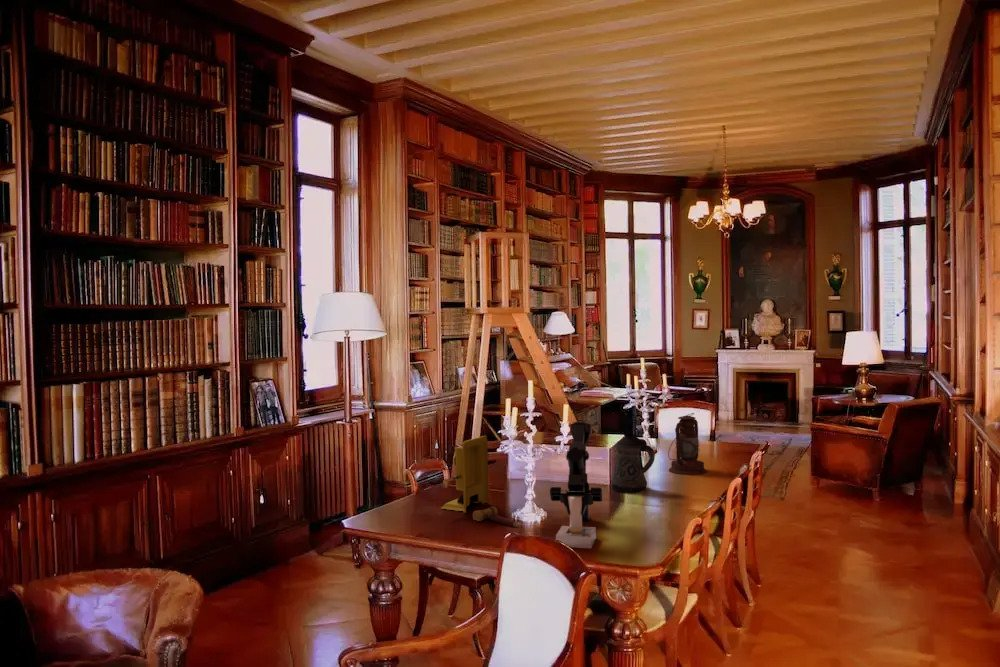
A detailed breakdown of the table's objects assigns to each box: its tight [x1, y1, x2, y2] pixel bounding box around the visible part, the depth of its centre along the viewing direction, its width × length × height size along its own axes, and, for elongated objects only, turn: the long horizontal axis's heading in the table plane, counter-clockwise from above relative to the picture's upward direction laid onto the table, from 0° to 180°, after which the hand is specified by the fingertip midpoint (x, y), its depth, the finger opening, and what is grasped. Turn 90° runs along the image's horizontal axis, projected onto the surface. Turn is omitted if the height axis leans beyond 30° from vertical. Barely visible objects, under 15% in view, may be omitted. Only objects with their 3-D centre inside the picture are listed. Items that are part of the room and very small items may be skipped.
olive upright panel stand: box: [440, 435, 494, 514], centre depth 336 cm, size 31×14×30 cm, turn 149°
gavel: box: [472, 506, 519, 528], centre depth 309 cm, size 21×5×10 cm
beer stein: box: [610, 434, 656, 494], centre depth 361 cm, size 16×19×25 cm
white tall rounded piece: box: [568, 496, 583, 534], centre depth 280 cm, size 4×4×12 cm
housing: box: [555, 525, 597, 549], centre depth 280 cm, size 12×12×4 cm
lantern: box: [667, 412, 708, 476], centre depth 397 cm, size 19×19×30 cm
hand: (575, 514), depth 279 cm, fingers closed on white tall rounded piece, 4 cm apart
